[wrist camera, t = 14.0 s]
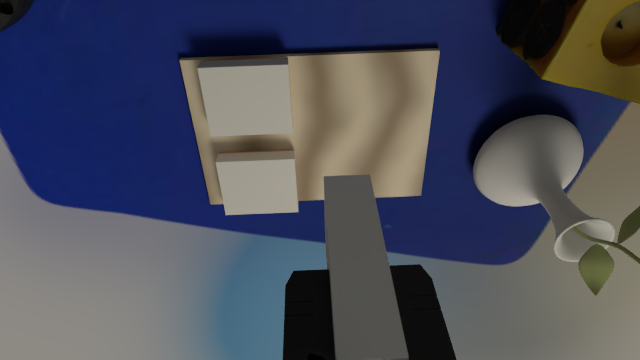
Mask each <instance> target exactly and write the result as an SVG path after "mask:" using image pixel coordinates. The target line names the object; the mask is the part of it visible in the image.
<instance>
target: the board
mask: <svg viewBox="0 0 640 360" xmlns="http://www.w3.org/2000/svg"><path fill="white" fill-rule="evenodd" d="M439 54H440V50H439V48H432V49H406V50H379V51H353V52H327V53H300V54H274V55H248V56H222V57H195V58H181V59H180V65H181V70H182V74H183V79H184V84H185V88H186V93H187V97H188V102H189V107H190V111H191V116H192V121H193V125H194V130H195V134H196V139H197V144H198V148H199V153H200V158H201V162H202V167H203V171H204V176H205V181H206V185H207V190H208V195H209V199H210V204H224V203H223V198H222V193H221V188H220V182H219V177H218V172H217V167H216V159H217V155H218V154H219V153H220V152H243V151H268V150H293V149H294V151H295V161H296V175H297V189H298V201H305V200H324V176H342V175H367V174H370V177H371V182H372V186H373V191H374V196H375V198H377V197H401V196H421V191H422V183H423V176H424V168H425V160H426V153H427V145H428V138H429V130H430V122H431V115H432V107H433V100H434V92H435V84H436V77H437V69H438V62H439ZM285 57H287V58H288V60H289V74H290V89H291V103H292V117H293V133H289V134H264V135H239V136H214V137H211V136H210V131H209V126H208V120H207V115H206V110H205V105H204V100H203V95H202V90H201V84H200V79H199V74H198V69H197V68H198V66H199V64H200V61H206V60H232V59H259V58H285Z"/></svg>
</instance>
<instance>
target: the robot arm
mask: <svg viewBox="0 0 640 360" xmlns="http://www.w3.org/2000/svg"><path fill="white" fill-rule="evenodd" d="M33 1H34V0H0V32H2V31H3V30H5V29H7V28H8V27H10V26H12V25H13V24H15V23H16V22H18V21H19V20H20V19H21V18H22V17H23V16H24V15H25V14H26V13H27V11H28V10H29V9H30V7H31V5H32V4H33ZM324 207H325V241H326V257H327V270H305V271H293V273H292V275H291V277H290V279H289V280H288V282H287V284H286V289H285V319H284V344H283V360H456V357H455V353H454V350H453V347H452V343H451V340H450V337H449V334H448V331H447V327H446V324H445V321H444V317H443V314H442V311H441V307H440V304H439V301H438V298H437V294H436V291H435V288H434V284H433V281H432V278H431V277H430V276H429V275H428V273H427V272H426V271H425V270H424V269H423V268H422V266H421V265H397V266H389V262H388V257H387V253H386V248H385V243H384V238H383V234H382V229H381V224H380V219H379V215H378V210H377V205H376V201H375V196H374V191H373V186H372V182H371V177H370V174H367V175H342V176H324Z"/></svg>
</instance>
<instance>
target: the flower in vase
mask: <svg viewBox="0 0 640 360" xmlns="http://www.w3.org/2000/svg"><path fill="white" fill-rule="evenodd" d="M582 159H583V143H582V139H581V135H580V133H579V131H578V130H577V129H576V127H575V126H574V125H573V124H572V123H570V122H569V121H567V120H566V119H563V118H561V117H558V116H553V115H533V116H527V117H523V118H519V119H517V120H514V121H512V122H510V123H507V124H506V125H504V126H502V127H501V128H499V129H498V130H497V131H495V132H494V133H493V134H492V135H491V136H490V137H489V138H488V139H487V140H486V141H485V143H484V144H483V145H482V147H481V149H480V150H479V152H478V154H477V156H476V159H475V162H474V166H473V177H474V181H475V184H476V186H477V188H478V189H479V191H480V192H481V193H482V194H483V195H484V196H486V197H487V198H489V199H490V200H492V201H494V202H496V203H499V204H502V205H506V206H527V205H533V204H537V203H541V204H542V205H543V206H544V208H545V209H546V211H547V212H548V214H549V216H550V218H551V220H552V222H553V224H554V227H555V230H556V239H555V242H554V252H555V254H556V256H557V257H558V258H560V259H562V260H564V261H568V262H579V264H578V265H579V270H580V273H581V275H582V277H583V279H584V281H585V283H586V284H587V286H588V287H589V288H590V290H591V291H592V292H593V293H594V295H597V294H598V292H599V291H600V289H601V288H602V287H603V285H604V284H605V282H606V281H607V279H608V278H609V276H610V274H611V273H612V271H613V268H614V261H613V259H612V257H611V256H610V255H609V253H608V252H607V251H606V249H607V248H608V247H609V246H612V247H615V248H618V249H620V250H622V251H623V252H624V253H626V254H627V255H629V256H630V257H631V258H633V259H634V260H635V261H637V262H638V263H639V264H640V258H638V257H637V256H635V255H634V254H633V253H632V252H630V251H629V250H627V249H626V248H625V247H623V246H621V245H619V244H618V243H622V242H623V241H625V240H626V239H628V238H629V237H631V236H632V235H633V234H635V233H636V231H637V230H638V229H639V228H640V206H639V207H638V208H637V209H636V210H635V211H634V212H632V213H631V214H630V215H629V216H628V217H627V218H626V219H625V220H624V221H623V223H622V225H621V228H620V232H619V235H618V243H614V242H612V241H613V239H614V237H615V229H614V227H613V225H612V224H611V223H609V222H608V221H606V220H603V219H600V218H593V217H590V216H588V215H586V214H585V213H583V212H582V211H581V210H580V209H579V208H578V207H576V206H575V205H574V204H573V203H572V201H571V200H570V199H569V198H568V197H567V195H566V194H565V192H564V191H563V189H564V188H565V187H566V186H567V185H568V184H569V183H570V182H571V181H572V179H573V178H574V176H575V175H576V173H577V172H578V170H579V168H580V165H581V163H582Z"/></svg>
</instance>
